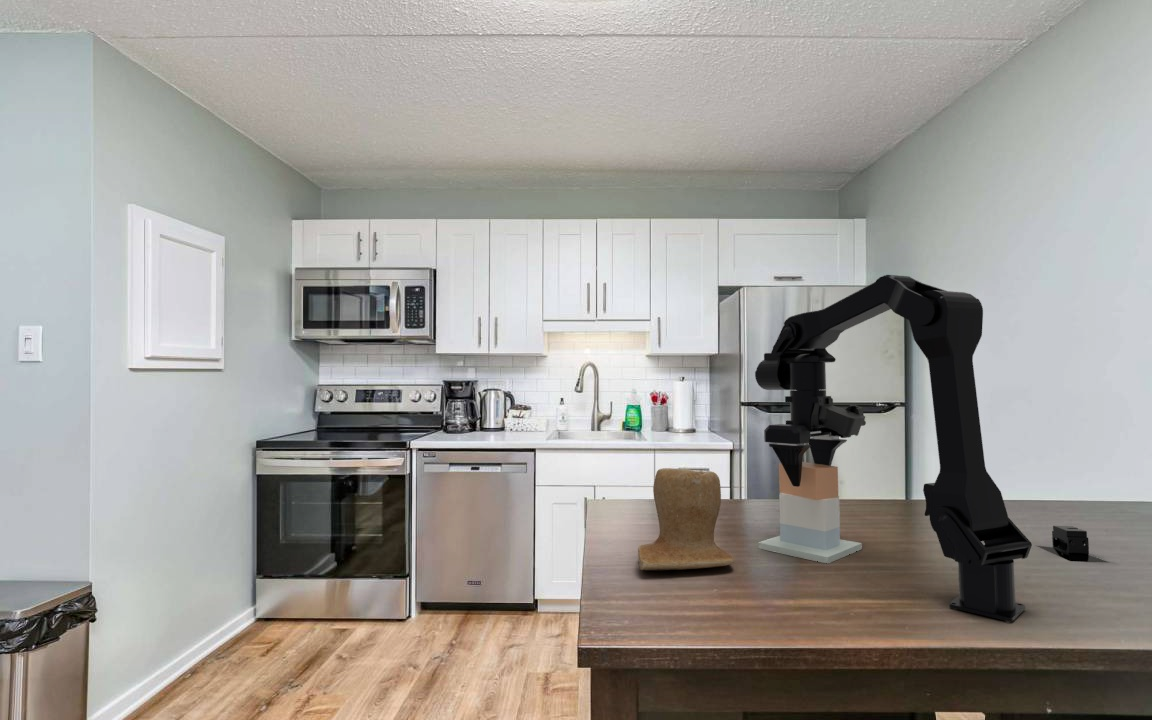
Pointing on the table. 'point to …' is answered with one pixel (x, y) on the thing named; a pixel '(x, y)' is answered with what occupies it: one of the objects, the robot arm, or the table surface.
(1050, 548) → the black mechanical block
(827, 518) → the ivory brick
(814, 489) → the terracotta brick
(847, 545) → the baseplate
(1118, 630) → the table surface
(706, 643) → the table surface
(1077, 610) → the table surface
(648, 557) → the brown upright flared piece
